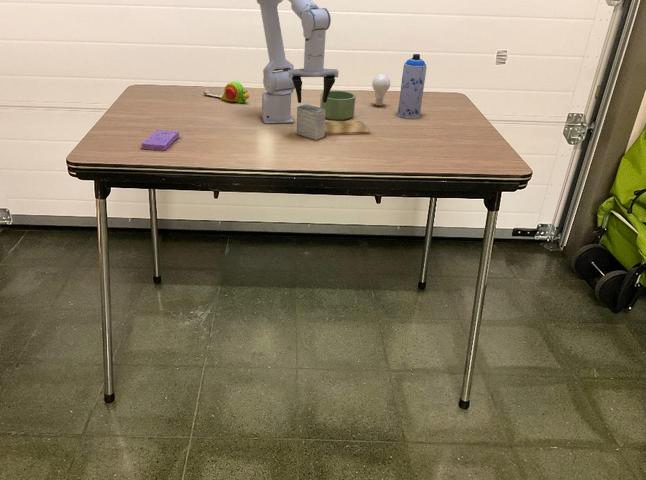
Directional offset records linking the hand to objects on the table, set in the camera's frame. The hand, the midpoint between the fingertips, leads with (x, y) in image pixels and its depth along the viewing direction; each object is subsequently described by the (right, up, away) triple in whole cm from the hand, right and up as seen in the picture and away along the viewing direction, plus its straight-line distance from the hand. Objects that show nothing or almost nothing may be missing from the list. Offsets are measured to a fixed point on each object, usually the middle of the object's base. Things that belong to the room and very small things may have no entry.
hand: (311, 101), depth 181 cm
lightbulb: (+26, +9, +36) cm, 45 cm away
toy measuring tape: (-29, +12, +38) cm, 49 cm away
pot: (+10, +2, +24) cm, 26 cm away
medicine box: (0, -9, +5) cm, 11 cm away
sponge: (-44, -13, -4) cm, 46 cm away
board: (+11, -5, +12) cm, 17 cm away
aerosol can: (+34, +3, +27) cm, 44 cm away
